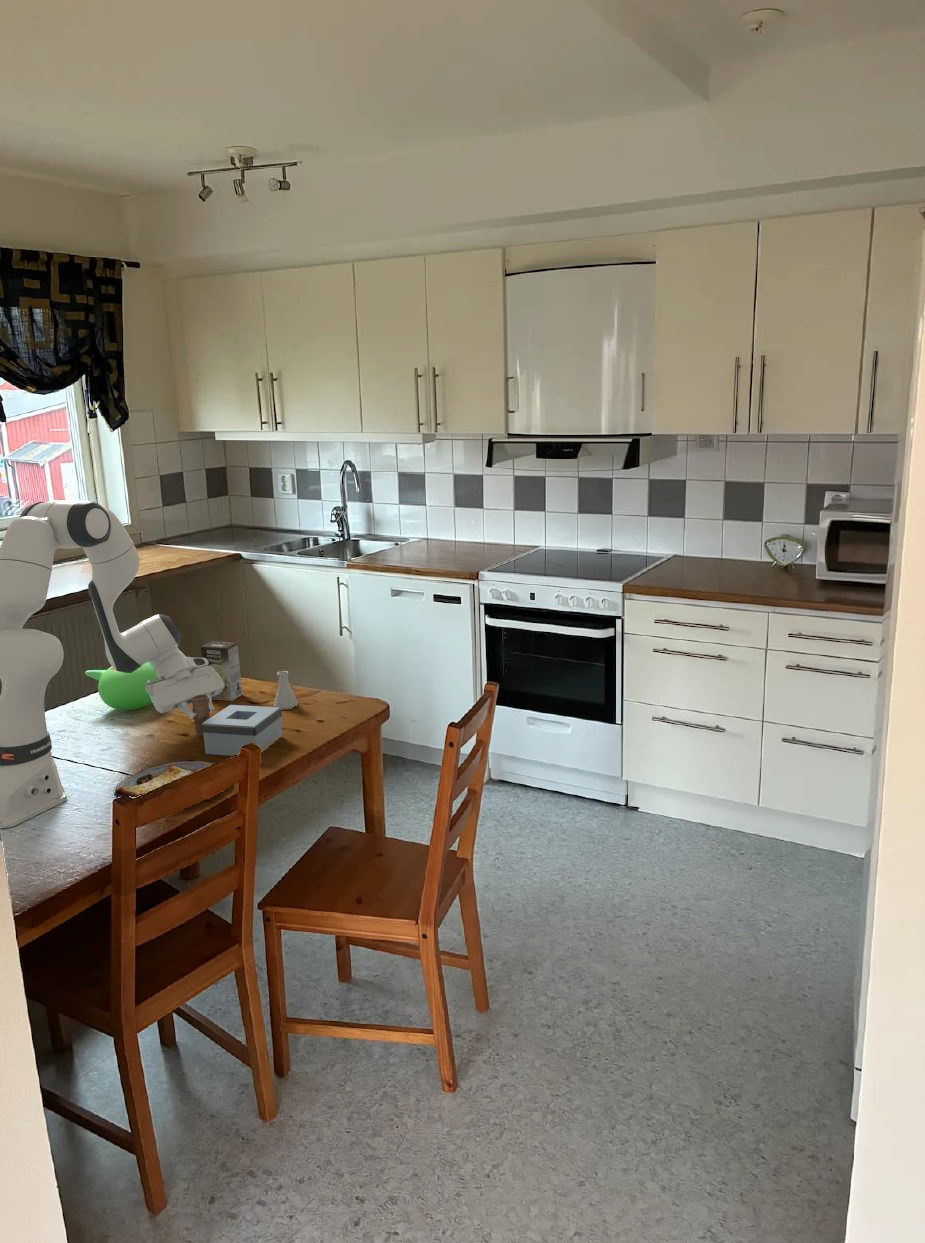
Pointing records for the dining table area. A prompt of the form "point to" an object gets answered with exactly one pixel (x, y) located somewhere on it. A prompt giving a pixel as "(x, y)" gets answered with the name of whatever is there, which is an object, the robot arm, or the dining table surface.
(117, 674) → the toy bird
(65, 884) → the dining table surface
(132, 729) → the dining table surface
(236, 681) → the coffee box
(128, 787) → the food plate
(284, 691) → the flask
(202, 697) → the beige cylinder
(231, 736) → the collar block
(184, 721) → the dining table surface
